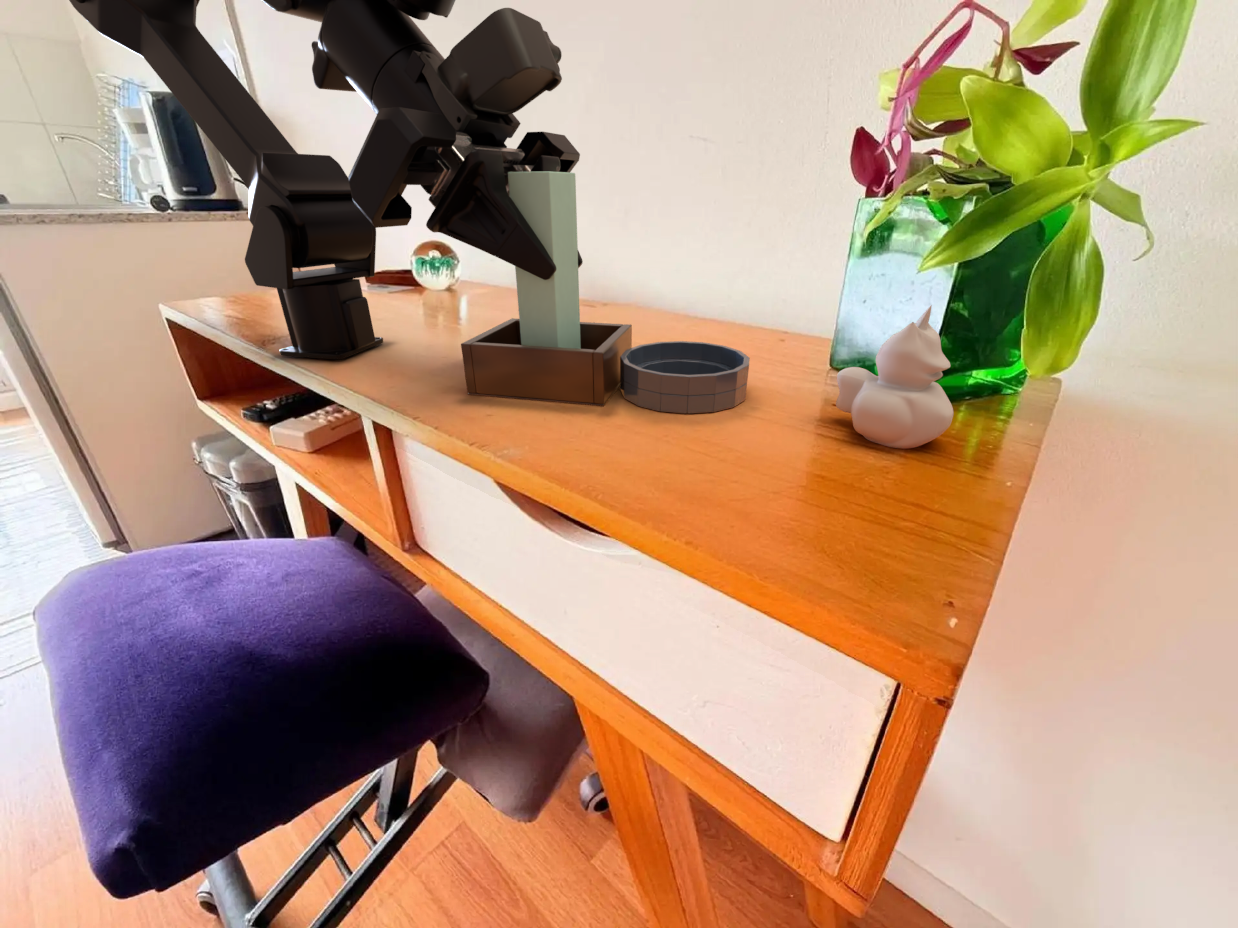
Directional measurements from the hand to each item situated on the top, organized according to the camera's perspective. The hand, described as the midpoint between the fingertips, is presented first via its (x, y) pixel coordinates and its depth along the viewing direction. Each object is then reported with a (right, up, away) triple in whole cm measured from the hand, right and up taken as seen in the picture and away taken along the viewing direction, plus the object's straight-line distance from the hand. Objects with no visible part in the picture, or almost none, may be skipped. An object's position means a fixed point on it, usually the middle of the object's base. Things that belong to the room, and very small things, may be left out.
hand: (565, 271), depth 37 cm
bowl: (+8, -8, +2) cm, 12 cm away
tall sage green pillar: (-1, -5, +3) cm, 6 cm away
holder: (-1, -7, +4) cm, 9 cm away
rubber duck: (+19, -12, -4) cm, 23 cm away
